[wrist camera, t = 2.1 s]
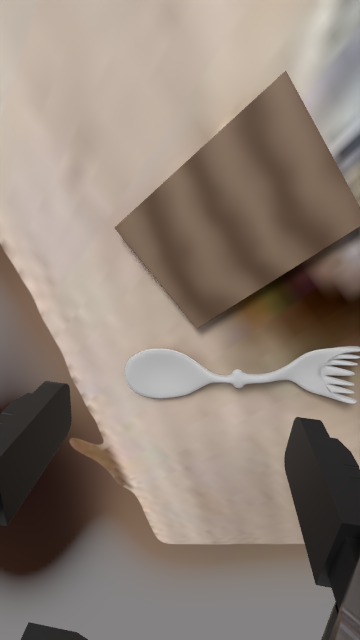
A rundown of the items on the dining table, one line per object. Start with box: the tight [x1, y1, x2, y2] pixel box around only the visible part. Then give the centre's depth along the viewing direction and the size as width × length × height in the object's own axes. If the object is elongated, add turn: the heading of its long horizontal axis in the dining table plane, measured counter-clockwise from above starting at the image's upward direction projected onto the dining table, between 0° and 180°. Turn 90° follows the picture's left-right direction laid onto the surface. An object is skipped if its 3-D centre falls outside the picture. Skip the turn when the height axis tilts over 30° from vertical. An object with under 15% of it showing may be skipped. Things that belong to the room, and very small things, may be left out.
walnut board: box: [115, 71, 360, 328], centre depth 33 cm, size 22×16×2 cm
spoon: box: [125, 346, 360, 404], centre depth 41 cm, size 9×32×4 cm, turn 97°
